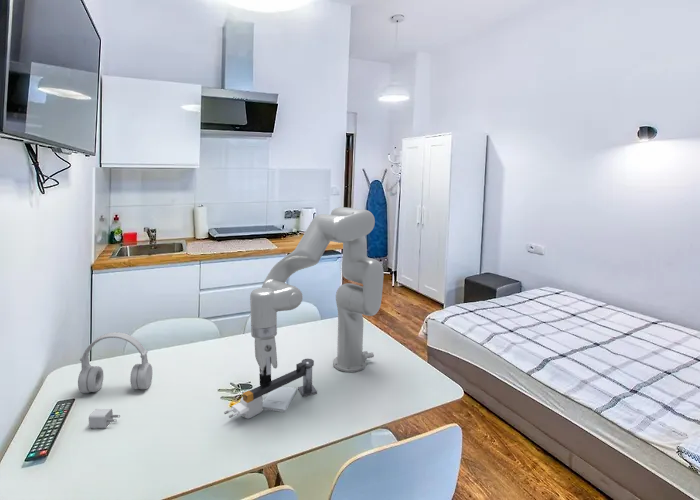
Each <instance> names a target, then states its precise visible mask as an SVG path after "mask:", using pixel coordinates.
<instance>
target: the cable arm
mask: <svg viewBox="0 0 700 500" xmlns="http://www.w3.org/2000/svg"><path fill="white" fill-rule="evenodd" d="M295 366H296V367H295V368H296V369H294V370H293V371H291V372H290V371H289V372H287V373H285V374H283V375H281V376H278V377H276V378H274V379H271V381H270V382H268V383H265V384H263V385H261V386H260V385H259V386H257V387H255V388H252V389H250V390H247V391H244V392H243V393H242V397H243V400H244V401H245V402H247V403H249V402H251V401H253V400H254V399H256V398H258V397H260V396H262V397H263V396H265V395H268V394H269V392H271V391H273V390H275V389H277V388H279V387H281V386H282V387H285V385H287V384H289V383H292V382H294V381H296V380H299V379H300V378H303V376H305V368H310V367H312V368H313V367H314V366H315V360H313V359H312V358H304V359H302V360H301V362H299V363H296V365H295Z"/></svg>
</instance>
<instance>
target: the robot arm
mask: <svg viewBox="0 0 700 500" xmlns="http://www.w3.org/2000/svg"><path fill="white" fill-rule="evenodd" d="M375 220H376V219H375V216H374V214H373V213H372V212H371V211H369V210H367V209H363V208H353V207H342V206H340V207H335V208H334V209H333V210H331V212H330V214H327V213H320V214H317V215H315V216H314V217H313V219H312V220H311V221H310V223H309V225H308V227H307V229H306V230H305V232H304V233H303V236H302V237H301V239H300V240H299V242H298V244H297V246H296V247H295V249H294V250H293V251H292V252H290V253H289V254H287V255H286V256H284V257H283V258H281V259H280V260H279V261H278V262H276V264H275V265H274V266H273V267H272V268H271V270H270V271H269V273H268V274H267V276H266V278H264V281H263V283H262V285H261V287H259V288H258V287H257V288H256V289H255V288H254V289H253V290H252V291H251V292H250V293H249V294H250V295H249V296H250V297H249V300H250V301H249V302H250V303H249V304H250V329H251V330H250V334H251V337H252V338H254V356H255V360H256V362H257V365H258V367H259V386H261V385H263V384H265V383H268V382H270V381H272V367H273V369H277V368H278V358H277V357H278V354H277V342H276V338H275V337H276V336H277V334H278V319H277V318H278V315H277V313H278V312H284V311H285V312H286V311H291V310H296V308H298V307H299V306H300V305H301V304H302V302H303V296H304V295H303V292H302V291H301V290H300V289H299V288H298V287H296V286H295V285H291V284H288V283H287V280H288V279H289V278H290V276H292V275H294V274H295V273H296V272H298V271H302V270H304V269H308V268H311V267H313V266H316V265H317V264H318V263H319V262H320V260H321V258H322V256H323V254H324V253H325V251H326V249H327V248H328V246H329V244H330V242H334V243H338V244H339V243H341V244H342V259H341V260H342V261H341V273H342V277H343V278H345V279H346V280H348V281H351V282H354V283H351V282H348V283H343V284H341V285H340V286H339V287H338V288H337V290H336V294H335V303H336V308H337V343H336V344H337V347H336V348H337V349H336V350H337V351H336V353H337V354H336V355H337V356H336V357H335V358H333V360H332V366H333V368H335V369H336V370H338V371H340V372H345V373H357V372H360V371H362V370H364V369H365V368H366V366H367V361H366V360H367V359H372V358H374V356H375V354H374V352H368V350H365V351H363V347H364V346H363V344H364V317H363V316H368V317H373V316H375V315H377V313H378V312H379V310H380V309H381V305H382V299H383V288H384V276H385V272H384V267H383V265H382V263H381V262H380V261H379V260H377V259H376V258H372V257H371V258H370V257H368V256H367V238H366V236H367V235H369V234H370V233H371V232H372V231H373V229H374V228H375V223H376V221H375ZM355 283H358V284H355ZM359 284H362V285H359Z"/></svg>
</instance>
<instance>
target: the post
mask: <svg viewBox="0 0 700 500" xmlns="http://www.w3.org/2000/svg"><path fill="white" fill-rule="evenodd" d="M297 391H298V392H299V394H300V395H301V396H302V397H303V398H304V397H308V396H312V395H313V396H314V395H317V394H318V390H317V389H316V387H315V386H314V384H313V366H312V367H310V368H305V376H303V377H302V386H298V387H297Z"/></svg>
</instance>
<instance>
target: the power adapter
mask: <svg viewBox="0 0 700 500" xmlns="http://www.w3.org/2000/svg"><path fill="white" fill-rule="evenodd" d="M262 402H263V395H262V396H260V397H258V398H256V399H254V400H253V401H251V402H249V403H247V402H245V401H244V400H243V396H242V397H241V398H240V400H239V402H237V403H235V404H234V405H232V406H231V408H229V409H228V410H226V411H224V412H223V414H224V415H226V414H229V413H231V412H233V413H232V414H230V415H228V418H229V419H230V418H231V419H232V418H233V417H235V416H238V417H241V416H242V417H243V418H244V419H248V420H250V419H251V418H253V417H256V416H257V415H259V414H261V413H262V412H263V410H262V409H263V404H262Z"/></svg>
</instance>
